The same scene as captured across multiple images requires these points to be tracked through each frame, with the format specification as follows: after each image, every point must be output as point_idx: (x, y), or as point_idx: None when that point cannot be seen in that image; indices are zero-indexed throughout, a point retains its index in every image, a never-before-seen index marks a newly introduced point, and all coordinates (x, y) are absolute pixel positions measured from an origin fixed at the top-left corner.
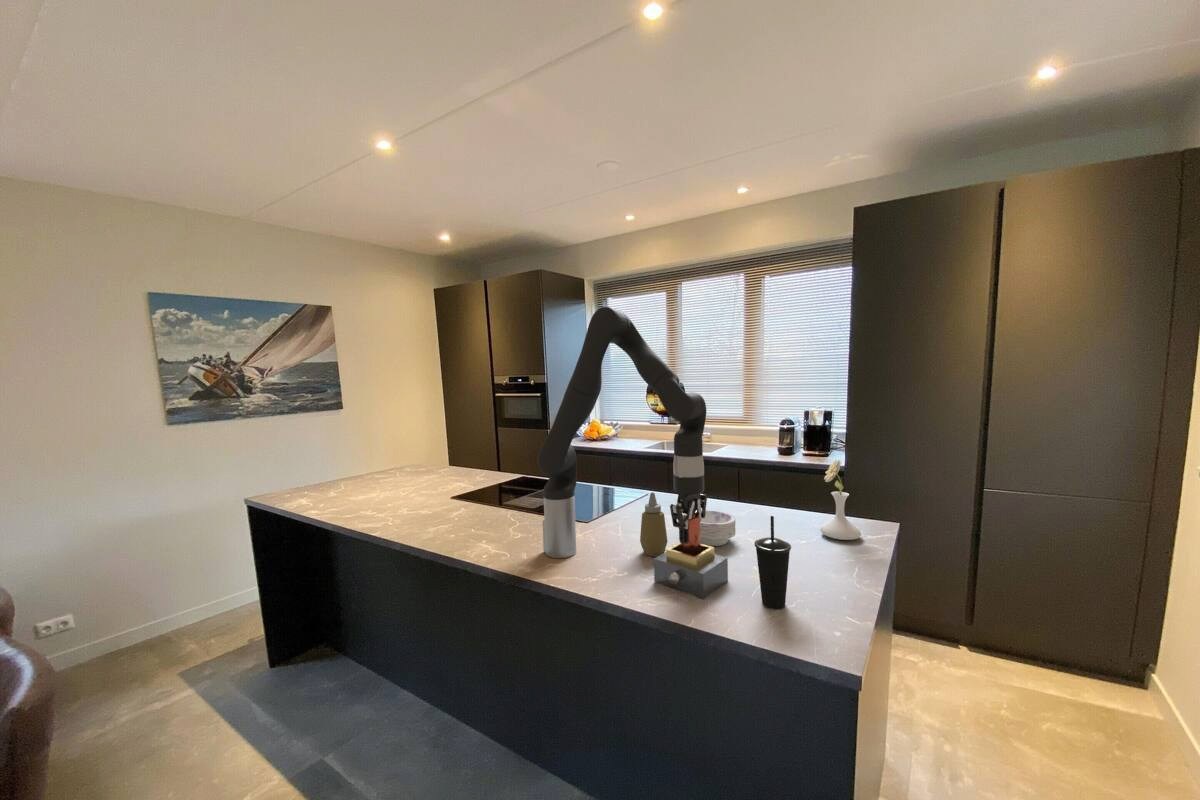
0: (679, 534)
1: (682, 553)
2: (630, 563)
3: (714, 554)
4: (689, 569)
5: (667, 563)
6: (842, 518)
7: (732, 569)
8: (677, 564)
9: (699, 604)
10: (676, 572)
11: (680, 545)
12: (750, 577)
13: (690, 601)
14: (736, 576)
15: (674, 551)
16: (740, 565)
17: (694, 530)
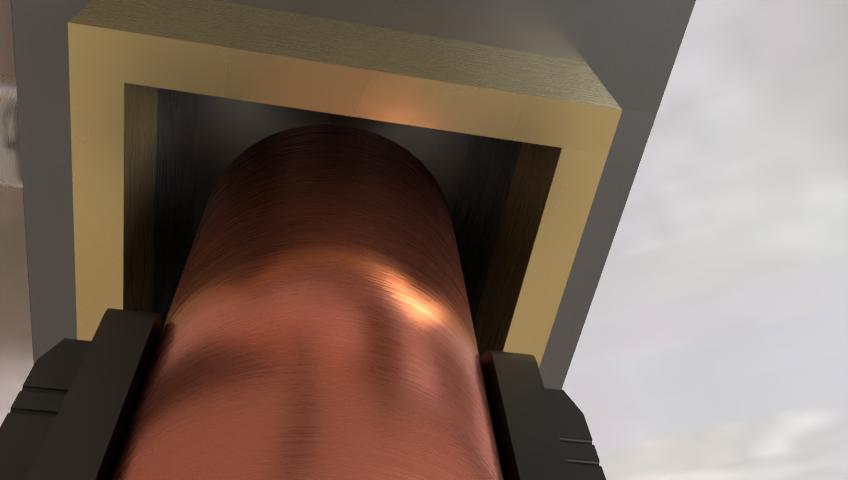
0: (3, 425)
1: (94, 280)
2: None
3: (552, 387)
4: (35, 326)
5: (19, 42)
6: None
7: (720, 315)
8: (59, 174)
9: (17, 306)
10: (9, 164)
11: (228, 220)
12: (622, 440)
13: (8, 241)
14: (601, 370)
15: (82, 164)
16: (816, 340)
17: None
